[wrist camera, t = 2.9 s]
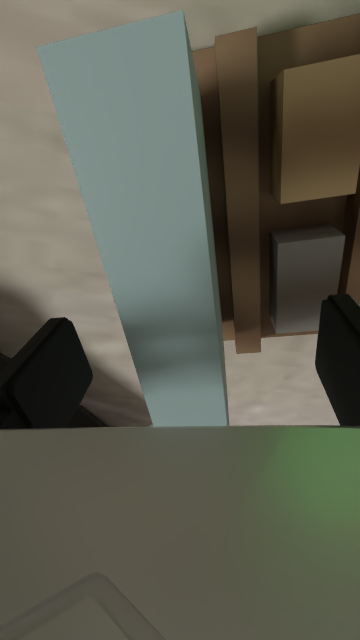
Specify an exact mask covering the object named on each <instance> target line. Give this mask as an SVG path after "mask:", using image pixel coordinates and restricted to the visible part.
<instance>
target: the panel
mask: <svg viewBox="0 0 360 640" xmlns="http://www.w3.org/2000/svg"><path fill="white" fill-rule="evenodd" d="M36 48H37V52H38V55H39V58H40V61H41V65H42V68H43V71H44V74H45V78H46V81H47V84H48V87H49V90H50V94H51V97H52V100H53V103H54V107H55V110H56V113H57V116H58V120H59V123H60V126H61V129H62V132H63V136H64V139H65V142H66V145H67V149H68V152H69V155H70V158H71V162H72V165H73V168H74V171H75V174H76V178H77V181H78V184H79V187H80V191H81V194H82V197H83V200H84V204H85V207H86V210H87V213H88V216H89V220H90V223H91V226H92V229H93V233H94V236H95V239H96V242H97V246H98V249H99V252H100V255H101V258H102V262H103V265H104V268H105V271H106V275H107V278H108V281H109V284H110V288H111V291H112V294H113V297H114V300H115V304H116V307H117V310H118V313H119V317H120V320H121V323H122V326H123V330H124V333H125V336H126V339H127V342H128V346H129V349H130V352H131V355H132V359H133V362H134V365H135V368H136V372H137V375H138V378H139V381H140V384H141V388H142V391H143V394H144V397H145V401H146V404H147V407H148V410H149V414H150V417H151V420H152V423H153V426H154V427H157V426H229V414H228V399H227V385H226V371H225V357H224V343H223V329H222V317H221V306H220V295H219V285H218V274H217V263H216V253H215V242H214V232H213V221H212V210H211V200H210V189H209V178H208V168H207V157H206V147H205V136H204V125H203V115H202V104H201V95H200V90H199V85H198V80H197V75H196V70H195V66H194V61H193V56H192V51H191V46H190V41H189V36H188V32H187V27H186V22H185V17H184V12H183V10H181V11H177V12H173V13H169V14H165V15H161V16H157V17H153V18H149V19H145V20H141V21H137V22H133V23H129V24H125V25H121V26H117V27H113V28H109V29H105V30H101V31H97V32H93V33H89V34H85V35H81V36H77V37H73V38H70V39H66V40H62V41H58V42H54V43H50V44H46V45H42V46H38V47H36Z"/></svg>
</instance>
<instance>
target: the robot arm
mask: <svg viewBox="0 0 360 640" xmlns="http://www.w3.org/2000/svg"><path fill="white" fill-rule="evenodd" d="M315 365H316V370H317V373H318V375H319V377H320V380H321V382H322V384H323V387H324V389H325V391H326V393H327V396H328V398H329V400H330V403H331V405H332V407H333V409H334V412H335V414H336V416H337V419H338V421H339V423H340V426H334V425H265V426H157V427H91V428H67V427H68V425H69V423H70V422H71V420H72V418H73V416H74V414H75V412H76V410H77V408H78V406H79V404H80V402H81V400H82V399H83V397H84V395H85V393H86V391H87V389H88V387H89V385H90V383H91V381H92V378H93V373H92V370H91V367H90V365H89V362H88V360H87V357H86V355H85V352H84V350H83V347H82V345H81V342H80V340H79V337H78V335H77V332H76V330H75V327H74V325H73V323H72V322H71V321H70V320H68V319H67V318H65V317H62V318H51V319H49V320H48V321H47V322H46V323H45V324H44V325H43V327H42V328H41V329H40V330H39V331H38V332H37V333H36V334H35V335H34V336H33V337H32V338H31V339H30V340H29V341H28V342H27V344H26V345H25V346H24V347H23V348H22V349H21V350H20V351H19V352H18V353H17V354H16V355H15V356H14V357H13V358H12V359H11V360H10V362H9V363H8V364H7V365H6V366H5V367H4V368H3V369H2V370H1V371H0V640H360V307H359V306H358V304H357V303H356V302H355V301H354V300H353V299H352V297H351V296H350V295H349V294H336V295H329V296H328V298H327V299H326V300H322V303H321V312H320V321H319V331H318V340H317V350H316V359H315Z"/></svg>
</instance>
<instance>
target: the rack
mask: <svg viewBox="0 0 360 640" xmlns="http://www.w3.org/2000/svg"><path fill="white" fill-rule="evenodd" d="M357 54H360V14H356V15H352V16H347V17H343V18H338V19H334V20H330V21H325V22H321V23H317V24H312V25H308V26H304V27H299V28H295V29H290V30H286V31H282V32H277V33H273V34H269V35H264V36H260V37H257V27H254V28H249V29H245V30H241V31H236V32H232V33H228V34H224V35H219V36H215V47H212V48H207V49H203V50H199V51H194V52H192V56H193V61H194V66H195V70H196V75H197V80H198V85H199V90H200V95H201V104H202V115H203V125H204V136H205V147H206V157H207V168H208V178H209V189H210V200H211V210H212V221H213V232H214V242H215V253H216V263H217V274H218V285H219V295H220V306H221V317H222V329H223V341H226V340H235V345H236V353H237V354H241V353H256V352H261V338H266V337H280V336H293V335H306V334H318V331H305V332H292V333H279V334H276V332H275V329H274V326H273V323H272V320H271V317H270V314H269V257H270V231H271V230H279V229H287V228H294V227H302V226H310V225H318V224H325V223H329V224H330V225H332V226H333V227H335V228H336V229H337V230H339V231H340V232H341V233H343V234H344V235H345V243H344V250H343V257H342V264H341V271H340V278H339V284H338V291H337V294H349V295H350V296H351V297H352V299H353V300H354V301H355V302H356V303H357V304H359V299H360V167H359V173H358V180H357V187H356V193H355V194H348V195H341V196H334V197H327V198H320V199H313V200H306V201H299V202H292V203H285V204H280V203H279V202H278V201H277V200H276V199H275V198H274V197H273V196H272V195H271V194H270V100H271V81H272V80H273V79H274V78H275V77H276V76H277V75H279V74H280V73H281V72H282V71H283V70H286V69H290V68H295V67H300V66H305V65H309V64H314V63H319V62H324V61H329V60H333V59H338V58H343V57H348V56H352V55H357Z"/></svg>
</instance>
